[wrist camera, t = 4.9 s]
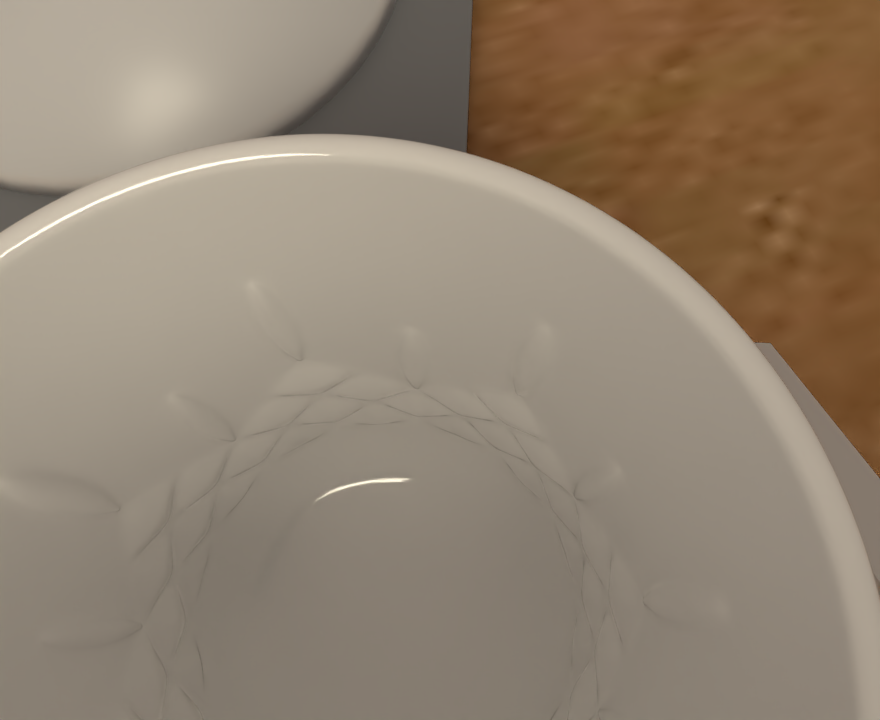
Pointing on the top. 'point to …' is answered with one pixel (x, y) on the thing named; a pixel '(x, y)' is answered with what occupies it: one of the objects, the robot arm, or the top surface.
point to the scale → (215, 81)
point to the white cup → (400, 459)
